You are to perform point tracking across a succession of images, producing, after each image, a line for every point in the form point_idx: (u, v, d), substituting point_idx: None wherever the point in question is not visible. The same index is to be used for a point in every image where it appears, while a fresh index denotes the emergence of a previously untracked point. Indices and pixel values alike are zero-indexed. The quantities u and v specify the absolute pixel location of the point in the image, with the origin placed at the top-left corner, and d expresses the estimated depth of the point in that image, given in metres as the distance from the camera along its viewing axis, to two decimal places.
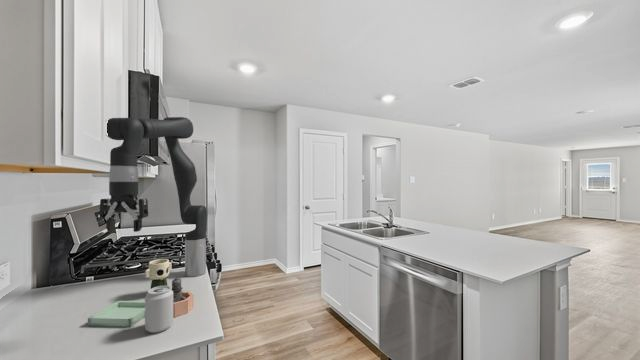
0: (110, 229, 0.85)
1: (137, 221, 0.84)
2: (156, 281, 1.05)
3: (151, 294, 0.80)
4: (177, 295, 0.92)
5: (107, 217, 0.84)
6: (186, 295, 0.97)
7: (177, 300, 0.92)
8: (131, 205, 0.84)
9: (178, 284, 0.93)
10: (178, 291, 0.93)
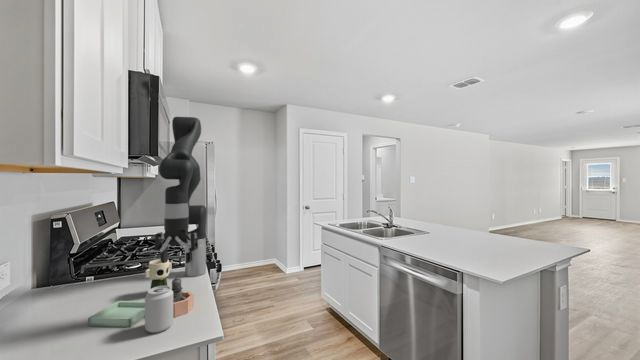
0: (164, 261, 0.93)
1: (189, 253, 0.93)
2: (156, 281, 1.05)
3: (151, 294, 0.80)
4: (177, 295, 0.92)
5: (162, 250, 0.93)
6: (186, 295, 0.97)
7: (177, 300, 0.92)
8: (183, 239, 0.92)
9: (178, 284, 0.93)
10: (178, 291, 0.93)
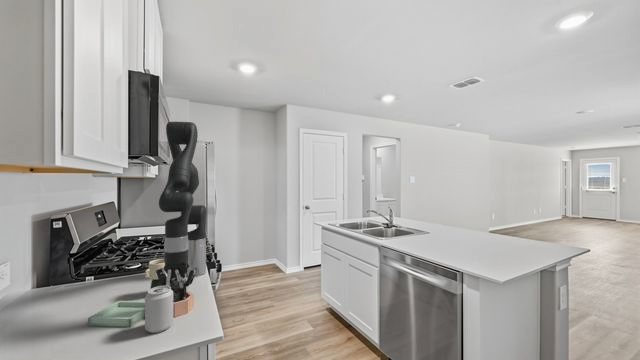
0: None
1: (183, 289, 0.93)
2: (156, 281, 1.05)
3: (151, 294, 0.80)
4: (177, 295, 0.92)
5: None
6: (186, 295, 0.97)
7: (177, 300, 0.92)
8: (182, 274, 0.92)
9: (178, 284, 0.93)
10: (178, 291, 0.93)
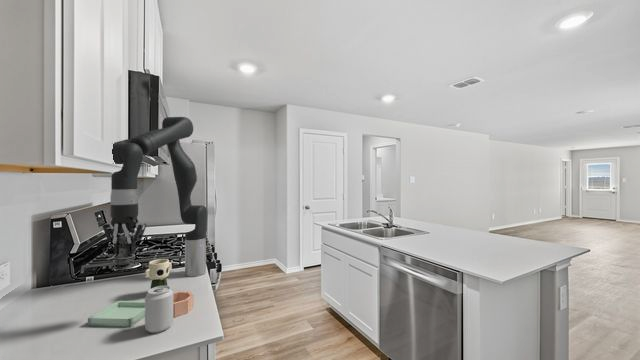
0: (118, 252, 0.89)
1: (131, 245, 0.89)
2: (156, 281, 1.05)
3: (151, 294, 0.80)
4: (124, 251, 0.88)
5: (115, 241, 0.88)
6: (186, 295, 0.97)
7: (124, 256, 0.88)
8: (130, 229, 0.88)
9: (125, 239, 0.88)
10: (126, 247, 0.88)
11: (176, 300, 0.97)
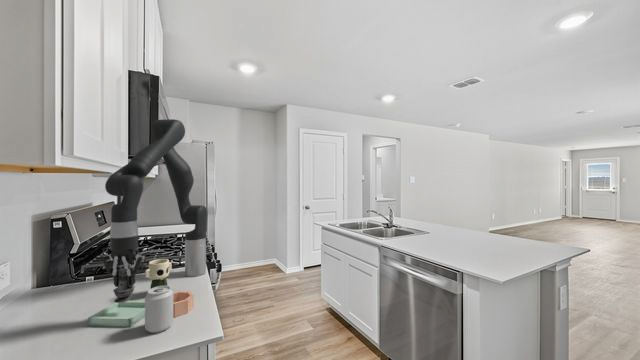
0: (117, 284, 0.89)
1: (130, 277, 0.88)
2: (156, 281, 1.05)
3: (151, 294, 0.80)
4: (124, 284, 0.88)
5: (114, 273, 0.88)
6: (186, 295, 0.97)
7: (124, 288, 0.88)
8: (130, 261, 0.88)
9: (125, 271, 0.88)
10: (125, 279, 0.88)
11: (176, 300, 0.97)
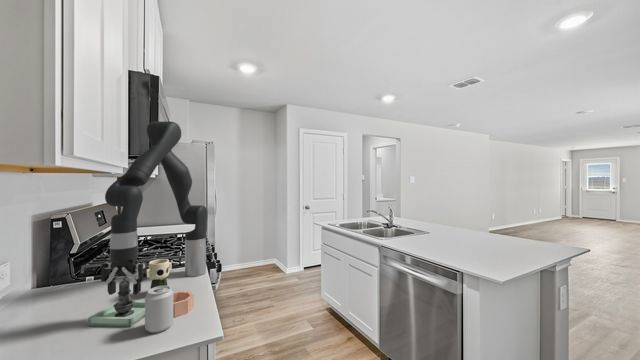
0: (111, 292, 0.89)
1: (136, 285, 0.88)
2: (156, 281, 1.05)
3: (151, 294, 0.80)
4: (124, 299, 0.88)
5: (108, 281, 0.88)
6: (186, 295, 0.97)
7: (124, 303, 0.88)
8: (131, 270, 0.88)
9: (125, 286, 0.88)
10: (125, 294, 0.88)
11: (176, 300, 0.97)
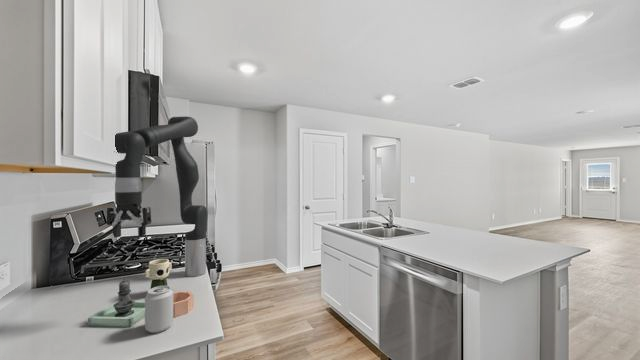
0: (116, 235, 0.92)
1: (141, 228, 0.92)
2: (156, 281, 1.05)
3: (151, 294, 0.80)
4: (124, 299, 0.88)
5: (114, 224, 0.92)
6: (186, 295, 0.97)
7: (124, 303, 0.88)
8: (135, 213, 0.92)
9: (125, 286, 0.88)
10: (125, 294, 0.88)
11: (176, 300, 0.97)
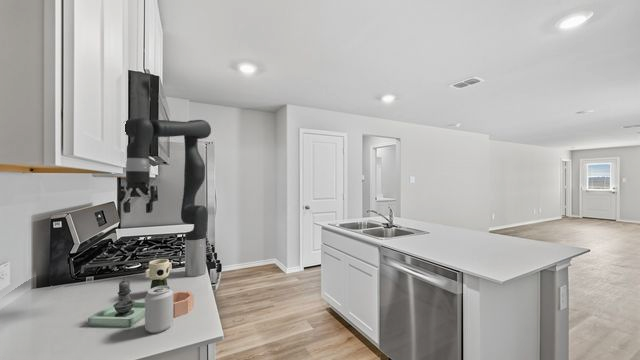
0: (126, 211, 1.02)
1: (149, 204, 1.02)
2: (156, 281, 1.05)
3: (151, 294, 0.80)
4: (124, 299, 0.88)
5: (124, 201, 1.01)
6: (186, 295, 0.97)
7: (124, 303, 0.88)
8: (144, 191, 1.01)
9: (125, 286, 0.88)
10: (125, 294, 0.88)
11: (176, 300, 0.97)
